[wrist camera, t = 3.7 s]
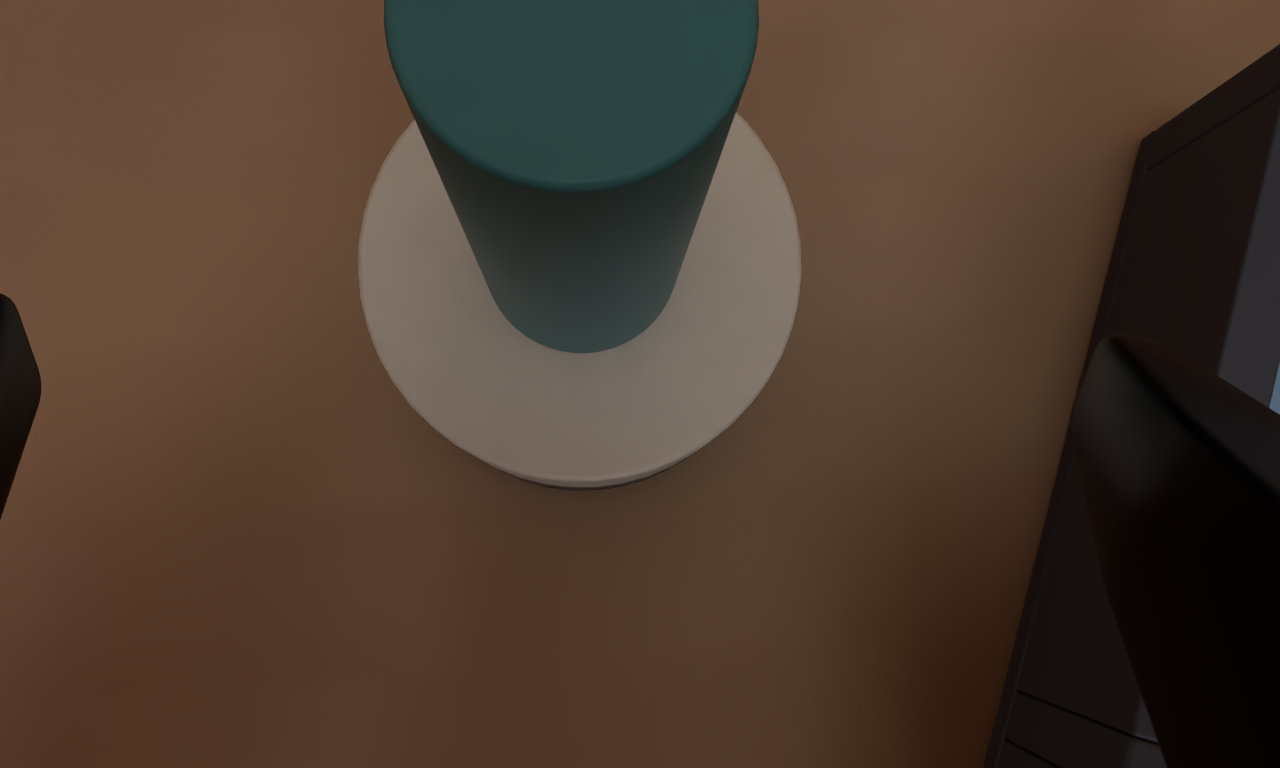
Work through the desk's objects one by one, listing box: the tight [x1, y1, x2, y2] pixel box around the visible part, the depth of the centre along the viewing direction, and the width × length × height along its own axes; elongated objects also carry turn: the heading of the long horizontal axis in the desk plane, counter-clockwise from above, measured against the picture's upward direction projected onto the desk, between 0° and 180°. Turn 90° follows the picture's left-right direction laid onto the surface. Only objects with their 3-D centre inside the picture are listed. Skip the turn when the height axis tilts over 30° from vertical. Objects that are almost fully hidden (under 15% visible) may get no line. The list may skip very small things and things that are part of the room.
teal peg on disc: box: [357, 0, 802, 490], centre depth 14 cm, size 6×6×12 cm
